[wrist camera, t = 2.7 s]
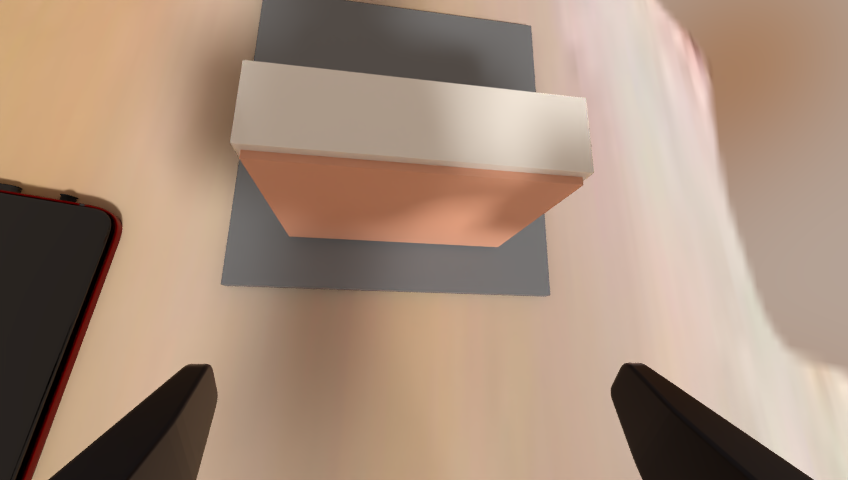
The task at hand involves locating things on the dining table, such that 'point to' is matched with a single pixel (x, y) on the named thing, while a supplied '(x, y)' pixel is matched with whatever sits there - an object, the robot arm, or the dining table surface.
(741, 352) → the dining table surface
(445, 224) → the cream and orange slab
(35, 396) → the smartphone
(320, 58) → the charcoal mat
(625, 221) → the dining table surface
